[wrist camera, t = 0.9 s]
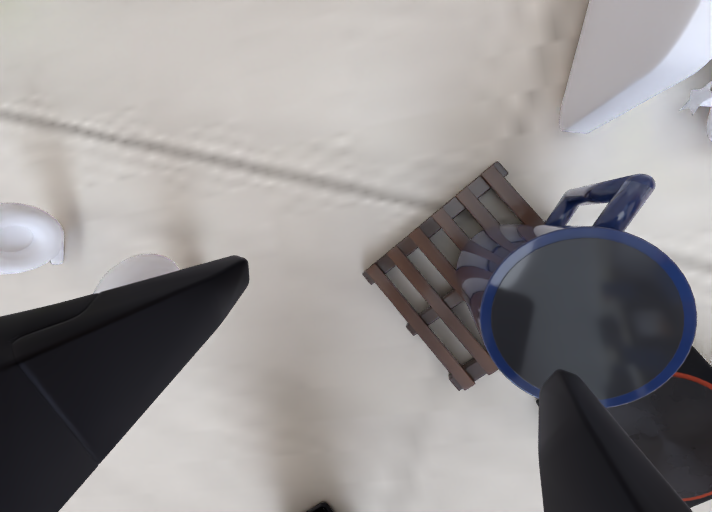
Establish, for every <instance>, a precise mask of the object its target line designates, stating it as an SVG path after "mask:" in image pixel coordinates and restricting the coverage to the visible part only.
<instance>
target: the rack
mask: <svg viewBox="0 0 712 512" xmlns="http://www.w3.org/2000/svg"><path fill="white" fill-rule="evenodd" d="M507 174H508V172H507V171H506V170H505V169H504V167H503V166H502V165H501V164H500V163H499V162H498V161H496V162H495V163H494V164H493V165H492V166H490V167H489V168H488V169H487V170H486V171H484V172H483V173H482V174H481V175H480V176H479V177H477V178H476V179H475V180H474V181H473V182H471V183H470V184H469V185H468V186H467V187H465V188H464V189H463V190H462V191H460V192H459V193H458V194H457V195H456V196H455V197H453V198H452V199H451V200H450V201H449V202H447V203H446V204H445V205H444V206H443V207H441V208H440V209H439V210H438V211H436V212H435V213H434V214H433V215H432V216H431V217H429V218H428V219H427V220H426V221H425V222H423V223H422V224H421V225H420V226H419V227H417V228H416V229H415V230H414V231H412V232H411V233H410V234H409V235H408V236H407V237H405V238H404V239H403V240H402V241H401V242H399V243H398V244H397V245H396V246H395V247H393V248H392V249H391V250H390V251H389V252H387V253H386V254H385V255H384V256H383V257H381V258H380V259H379V260H378V261H377V262H375V263H374V264H373V265H372V266H371V267H369V268H368V269H367V270H366V271H365V272H363V273H362V274H363V276H364V277H365V278H366V279H367V280H368V282H369V283H370V284H371V285H372V284H373V283H376V284H377V285H378V287H379V288H380V289H381V290H382V291H383V293H384V294H385V295H386V296H387V297H388V299H389V300H390V301H391V302H392V303H393V305H394V306H395V307H396V308H397V309H398V311H399V312H400V313H401V314H402V316H403V317H404V318H405V319H406V320H407V322H408V323H407V324H406V327H407V329H408V330H409V331H410V332H411V334H412V335H413V336H414V335H416V334H418V335H419V336H420V337H421V338H422V340H423V341H424V342H425V343H426V344H427V346H428V347H429V348H430V349H431V351H432V352H433V353H434V354H435V355H436V357H437V358H438V359H439V360H440V361H441V363H442V364H443V365H444V366H445V367H446V369H447V370H448V371H449V372H450V374H449V380H450V381H451V382H452V383H453V385H454V386H455V387H456V388H457V389H458V390H459V391H460V390H461V389H464V390H466V389H468V388H470V387H471V386H473V385H474V384H475V381H476V380H477V379H479V378H480V377H482V376H484V375H485V374H488V375H490V374H492V373H494V372H495V371H497V370H498V368H497V366H496V365H495V363H494V362H493V360H492V359H491V357H490V355H489V353H488V351H487V350H485V349H484V348H483V347H482V346H481V344H480V343H479V342H478V341H477V340H476V338H475V337H474V336H473V335H472V334H471V333H470V331H469V330H468V329H467V328H466V327H465V325H464V324H463V323H462V322H461V321H460V320H459V318H458V317H457V316H456V315H455V314H454V312H453V311H452V310H451V309H452V308H453V307H455V306H456V305H458V304H459V303H460V302H462V301H463V300H464V297H463V295H462V293H461V290H460V288H459V285H458V282H457V276H456V270H455V268H454V267H453V266H452V265H451V264H450V263H449V261H448V260H447V259H446V258H445V257H444V256H443V254H442V253H441V252H440V251H439V250H438V249H437V247H436V246H435V245H434V244H433V243H432V242H431V240H430V239H429V238H430V237H431V236H432V235H434V234H435V233H436V232H437V231H439V230H440V229H441V228H442V229H443V230H444V232H445V233H446V234H447V235H448V236H449V237H450V239H451V240H452V241H453V242H454V243H455V244H456V246H457V247H458V248H459V249H460V250H461V251H462V249H463V248H464V246H465V245H466V244H467V242H468V241H469V240H470V239H469V238H468V236H467V235H466V234H465V233H464V232H463V231H462V229H461V228H460V227H459V226H458V225H457V224H456V223H455V221H454V220H453V218H455V217H456V216H457V215H458V214H459V213H461V212H462V211H463V210H464V209H467V211H468V212H469V213H470V214H471V215H472V216H473V217H474V219H475V220H476V221H477V222H478V223H479V224H480V225H481V227H482V228H483V229H484V230H485V229H487V228H490V227H493V226H497V225H500V224H499V222H498V221H497V220H496V219H495V218H494V217H493V216H492V215H491V213H490V212H489V211H488V210H487V209H486V208H485V207H484V205H483V204H482V203H481V202H480V201H479V200H478V198H479V197H480V196H482V195H483V194H484V193H485V192H487V191H488V190H489V189H490V188H492V189H493V190H494V192H495V193H496V194H497V195H498V196H499V197H500V198H501V199H502V201H503V202H504V203H505V204H506V205H507V206H508V207H509V208H510V210H511V211H512V212H513V213H514V214H515V215H516V216H517V217H518V219H519V220H520V221H521V222H522V223H523V224H524V225H544V224H545V222H546V221H547V220H546V221H545V222H544V221H543V220H542V219H541V218H540V217H539V216H538V215H537V213H536V212H535V211H534V210H533V209H532V208H531V207H530V206H529V205H528V203H527V202H526V201H525V200H524V199H523V198H522V197H521V196H520V195H519V193H518V192H517V191H516V190H515V189H514V188H513V187H512V186H511V184H510V183H509V182H508V181H507V180H506V179H505V178H504V177H505V176H506V175H507ZM418 247H419V248H420V250H421V251H422V252H423V253H424V254H425V256H426V257H427V258H428V259H429V260H430V261H431V263H432V264H433V265H434V266H435V267H436V268H437V270H438V271H439V272H440V273H441V274H442V276H443V277H444V278H445V279H446V280H447V281H448V283H449V284H450V285H451V286H452V287H453V288H454V289H453V290H451V291H450V292H449V293H447V294H446V295H445V296H443V297H442V298H441V297H440V296H439V295H438V293H437V292H436V291H435V290H434V289H433V288H432V286H431V285H430V284H429V283H428V282H427V280H426V279H425V278H424V277H423V276H422V275H421V273H420V272H419V271H418V270H417V269H416V267H415V266H414V265H413V264H412V263H411V261H410V260H409V259H408V258H407V256H408V255H409V254H410V253H411V252H413V251H414V250H415V249H416V248H418ZM395 265H396V266H397V267H398V268H399V269H400V270H401V272H402V273H403V274H404V275H405V276H406V277H407V279H408V280H409V281H410V282H411V283H412V285H413V286H414V287H415V288H416V289H417V291H418V292H419V293H420V294H421V295H422V297H423V298H424V299H425V300H426V301H427V303H428V304H429V305H430V307H428V308H427V309H426V310H424V311H423V312H422V313H420V314H418V313H417V312H416V311H415V309H414V308H413V307H412V306H411V305H410V303H409V302H408V301H407V300H406V299H405V297H404V296H403V295H402V294H401V293H400V291H399V290H398V289H397V288H396V287H395V285H394V284H393V283H392V282H391V281H390V279H389V278H388V277H387V276H386V275H385V274H386V273H387V272H388V271H389V270H391V269H392V268H393V267H394V266H395ZM464 301H465V300H464ZM465 303H466V302H465ZM439 317H440V318H441V319H442V320H443V322H444V323H445V324H446V325H447V326H448V328H449V329H450V330H451V331H452V332H453V333H454V335H455V336H456V337H457V338H458V339H459V341H460V342H461V343H462V344H463V345H464V347H465V348H466V349H467V350H468V351H469V353H470V354H471V355H472V356H473V357H474V358H473V359H472V360H470V361H469V362H467V363H466V364H464V365H462V366H461V365H460V363H459V362H458V361H457V360H456V359H455V357H454V356H453V355H452V354H451V353H450V351H449V350H448V349H447V348H446V347H445V345H444V344H443V343H442V342H441V341H440V339H439V338H438V337H437V336H436V335H435V333H434V332H433V331H432V330H431V329H430V327H429V326H428V325H430V324H431V323H433V322H434V321H435V320H437V319H438V318H439Z"/></svg>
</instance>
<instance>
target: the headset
mask: <svg viewBox="0 0 712 512" xmlns="http://www.w3.org/2000/svg"><path fill="white" fill-rule="evenodd" d="M63 259H64V231H63V228H62V226H61V224H60V223H59V222H58V220H57V219H56V218H55V217H53V216H52V215H51V214H49V213H48V212H46V211H44V210H42V209H40V208H37V207H34V206H30V205H26V204H20V203H0V274H13V273H20V272H25V271H29V270H32V269H35V268H37V267H40V266H42V265H44V264H46V263H47V262H49V261H50V263H51V264H53V265H59V264H62V263H63ZM178 270H179V268H178V266H177V265H176V263H175V262H173V261H172V260H171V259H169V258H167V257H165V256H163V255H158V254H141V255H136V256H133V257H130V258H128V259H126V260H124V261H122V262H120V263H119V264H117V265H116V266H114V267H113V268H112V269H110V270H109V271H108V272H107V273H106V274H105V275H104V277H103V278H102V279H101V280H100V282H99V283H98V285H97V287H96V288H95V291H94V293H100V292H102V291H106V290H109V289H113V288H117V287H120V286H124V285H127V284H131V283H135V282H138V281H142V280H146V279H149V278H153V277H157V276H160V275H164V274H167V273H171V272H175V271H178ZM94 293H93V294H94Z"/></svg>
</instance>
